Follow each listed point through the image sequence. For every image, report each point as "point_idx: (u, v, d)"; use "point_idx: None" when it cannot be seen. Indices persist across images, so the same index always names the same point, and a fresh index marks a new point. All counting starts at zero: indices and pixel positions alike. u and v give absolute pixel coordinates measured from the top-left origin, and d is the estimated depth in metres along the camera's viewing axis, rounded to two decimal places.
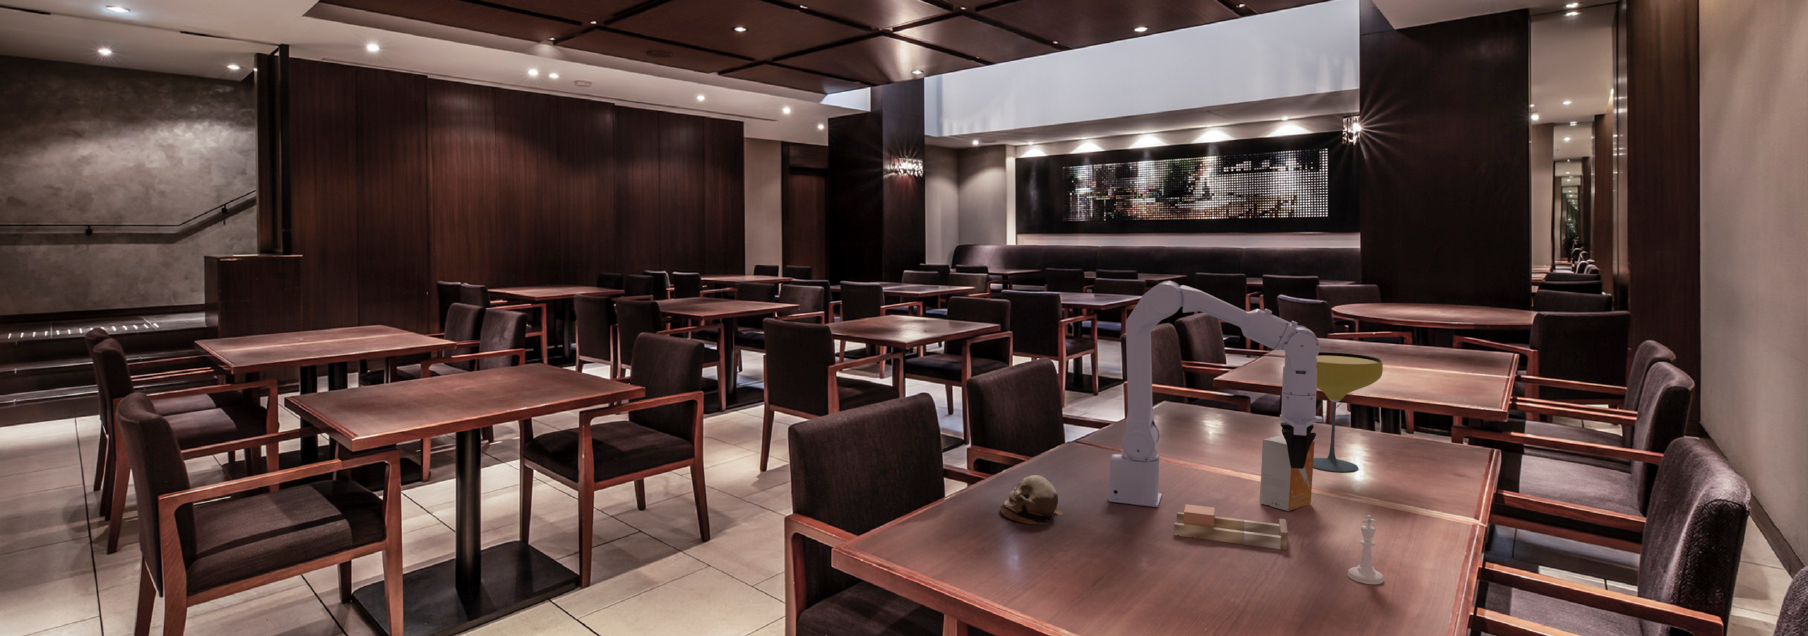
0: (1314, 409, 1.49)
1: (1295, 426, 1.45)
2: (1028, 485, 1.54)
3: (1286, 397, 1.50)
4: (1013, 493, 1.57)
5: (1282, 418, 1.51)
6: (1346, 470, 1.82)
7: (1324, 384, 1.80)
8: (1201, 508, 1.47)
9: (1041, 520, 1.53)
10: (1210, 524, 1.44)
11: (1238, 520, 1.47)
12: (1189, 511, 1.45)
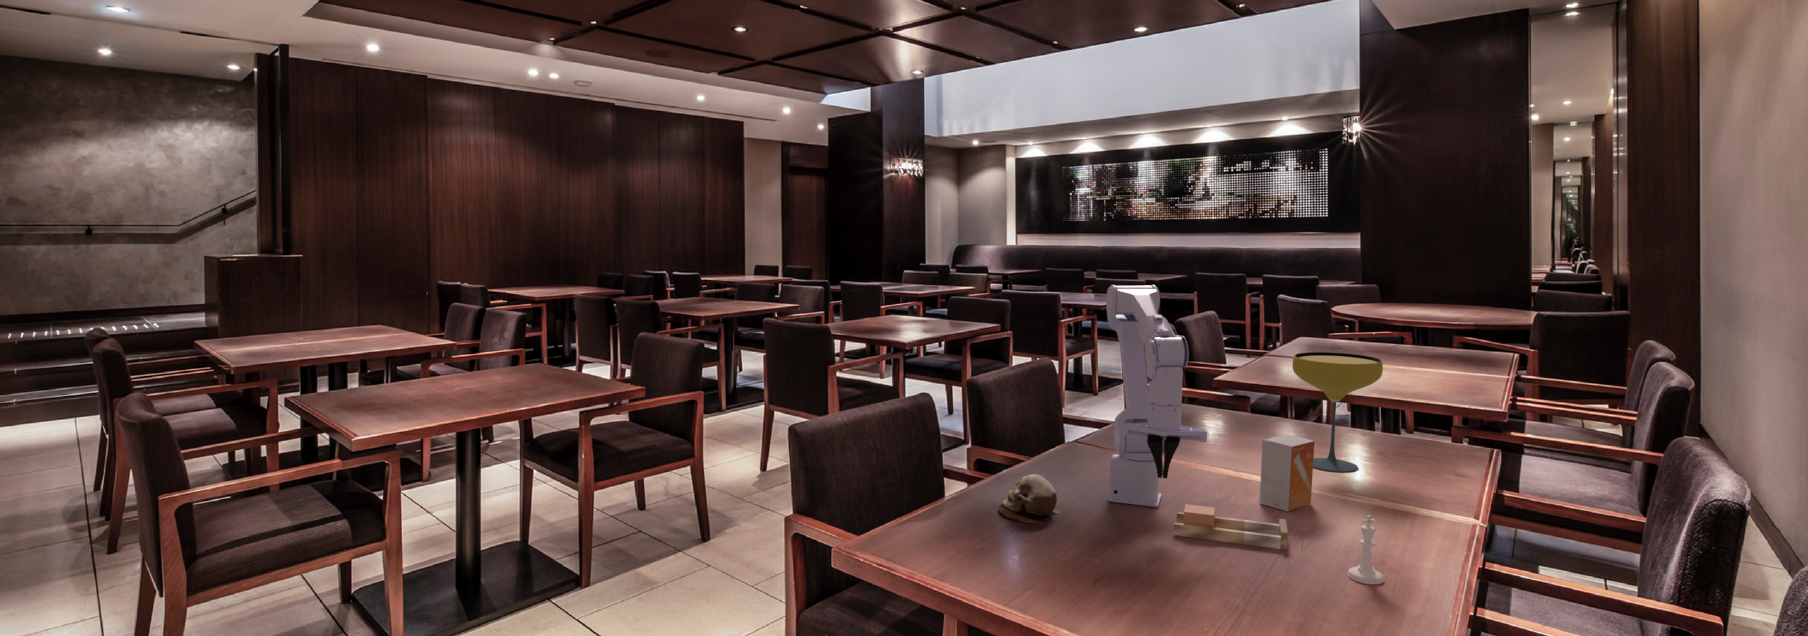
0: (1156, 420, 1.45)
1: None
2: (1026, 484, 1.54)
3: None
4: (1012, 492, 1.58)
5: None
6: (1346, 470, 1.82)
7: (1324, 384, 1.80)
8: (1201, 508, 1.47)
9: (1040, 519, 1.53)
10: (1210, 524, 1.44)
11: (1238, 520, 1.47)
12: (1189, 511, 1.45)
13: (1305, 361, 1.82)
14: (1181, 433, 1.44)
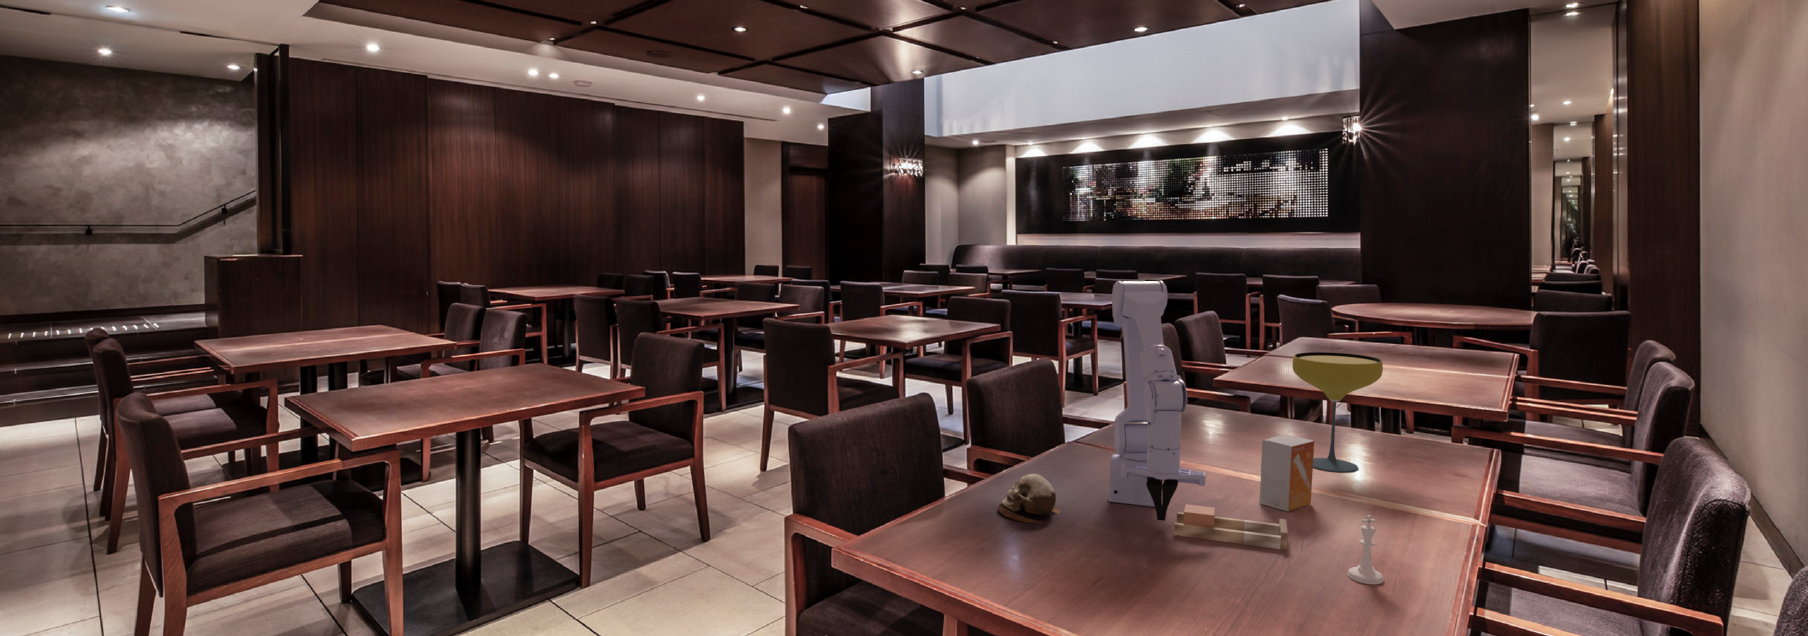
0: (1155, 463, 1.46)
1: (1122, 466, 1.52)
2: (1026, 484, 1.55)
3: None
4: (1011, 492, 1.58)
5: None
6: (1346, 470, 1.82)
7: (1324, 384, 1.80)
8: (1201, 508, 1.47)
9: (1039, 518, 1.53)
10: (1210, 524, 1.44)
11: (1238, 520, 1.47)
12: (1189, 511, 1.45)
13: (1305, 361, 1.82)
14: (1180, 477, 1.45)
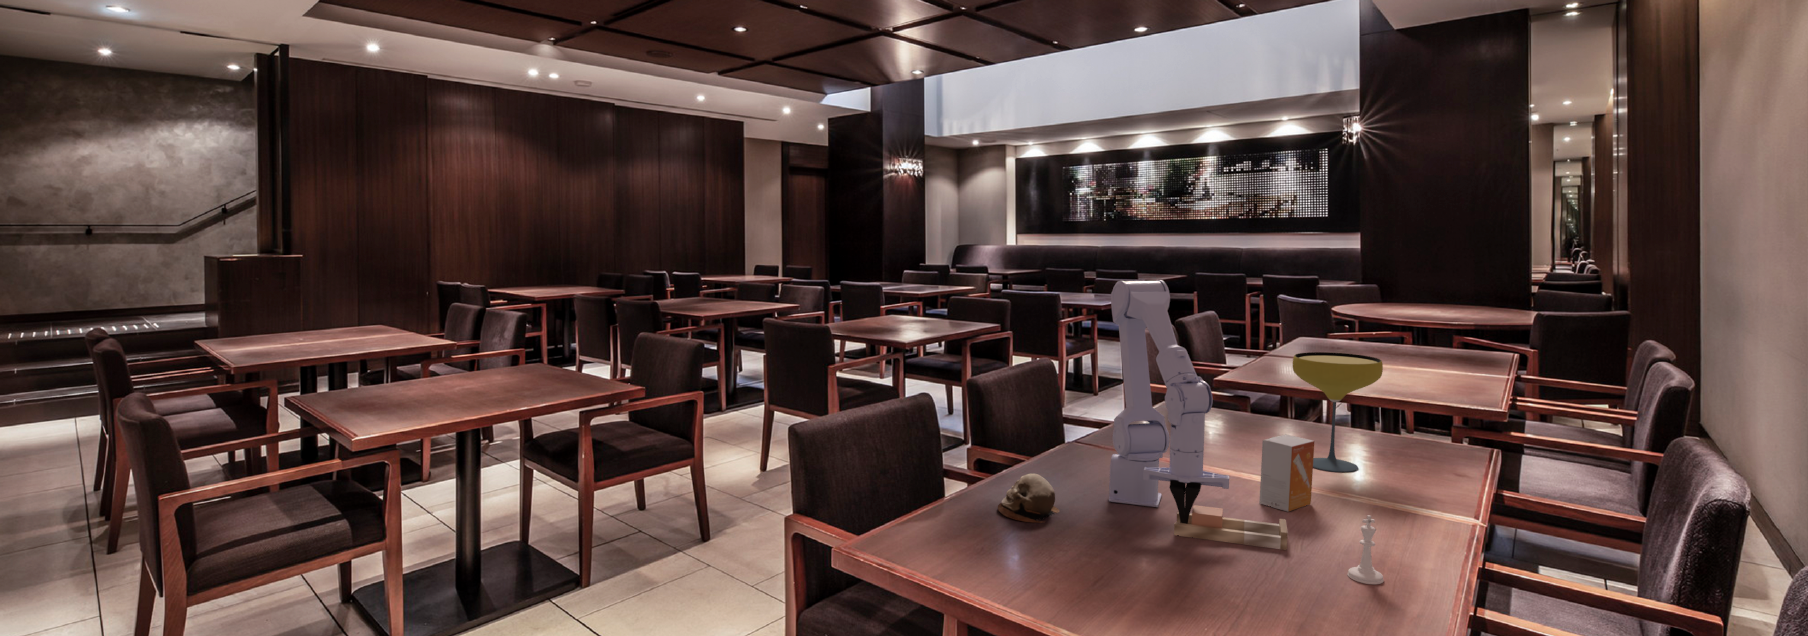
0: (1178, 466, 1.45)
1: None
2: (1025, 484, 1.55)
3: None
4: (1010, 491, 1.58)
5: None
6: (1346, 470, 1.82)
7: (1324, 384, 1.80)
8: (1209, 509, 1.46)
9: (1038, 518, 1.54)
10: (1219, 525, 1.43)
11: (1238, 520, 1.47)
12: (1197, 512, 1.45)
13: (1305, 361, 1.82)
14: (1203, 480, 1.44)
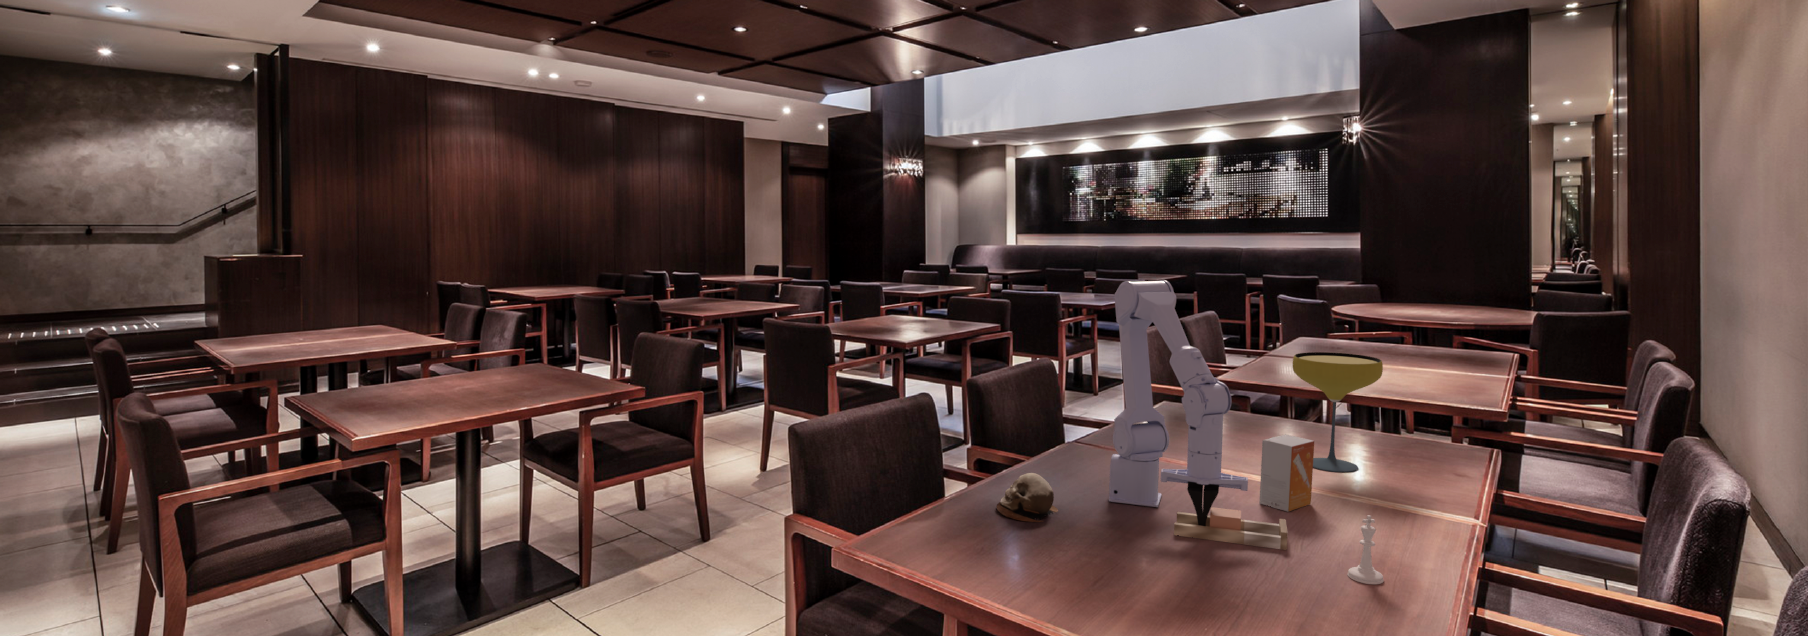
0: (1196, 468, 1.43)
1: None
2: (1024, 483, 1.55)
3: None
4: (1009, 491, 1.58)
5: None
6: (1346, 470, 1.82)
7: (1324, 384, 1.80)
8: (1227, 511, 1.45)
9: (1037, 517, 1.54)
10: (1237, 527, 1.42)
11: None
12: (1215, 515, 1.44)
13: (1305, 361, 1.82)
14: (1222, 481, 1.42)
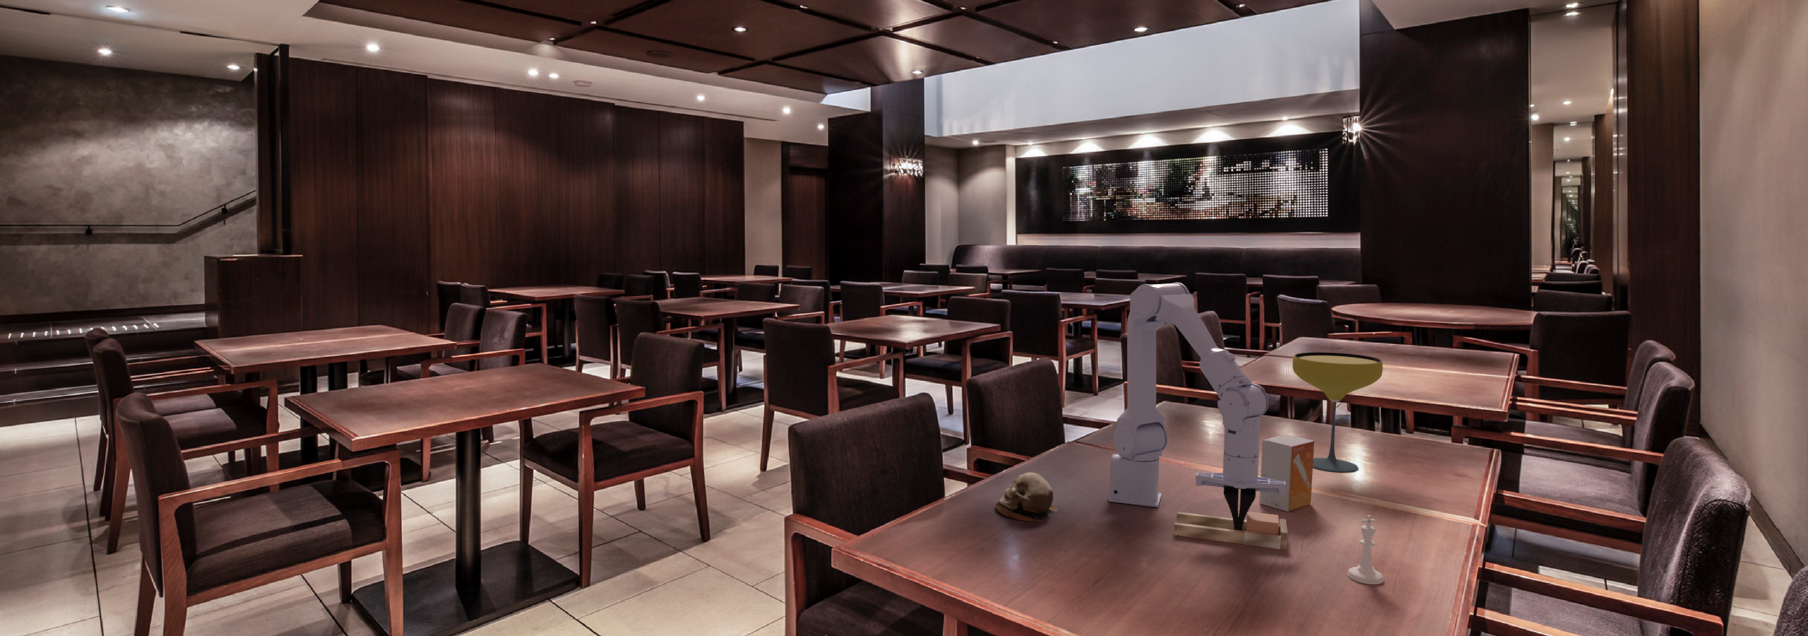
0: (1233, 472, 1.41)
1: (1196, 474, 1.47)
2: (1023, 483, 1.56)
3: None
4: (1008, 490, 1.59)
5: None
6: (1346, 470, 1.82)
7: (1324, 384, 1.80)
8: (1264, 516, 1.43)
9: (1037, 517, 1.54)
10: (1275, 532, 1.40)
11: None
12: (1252, 519, 1.41)
13: (1305, 361, 1.82)
14: (1259, 485, 1.40)
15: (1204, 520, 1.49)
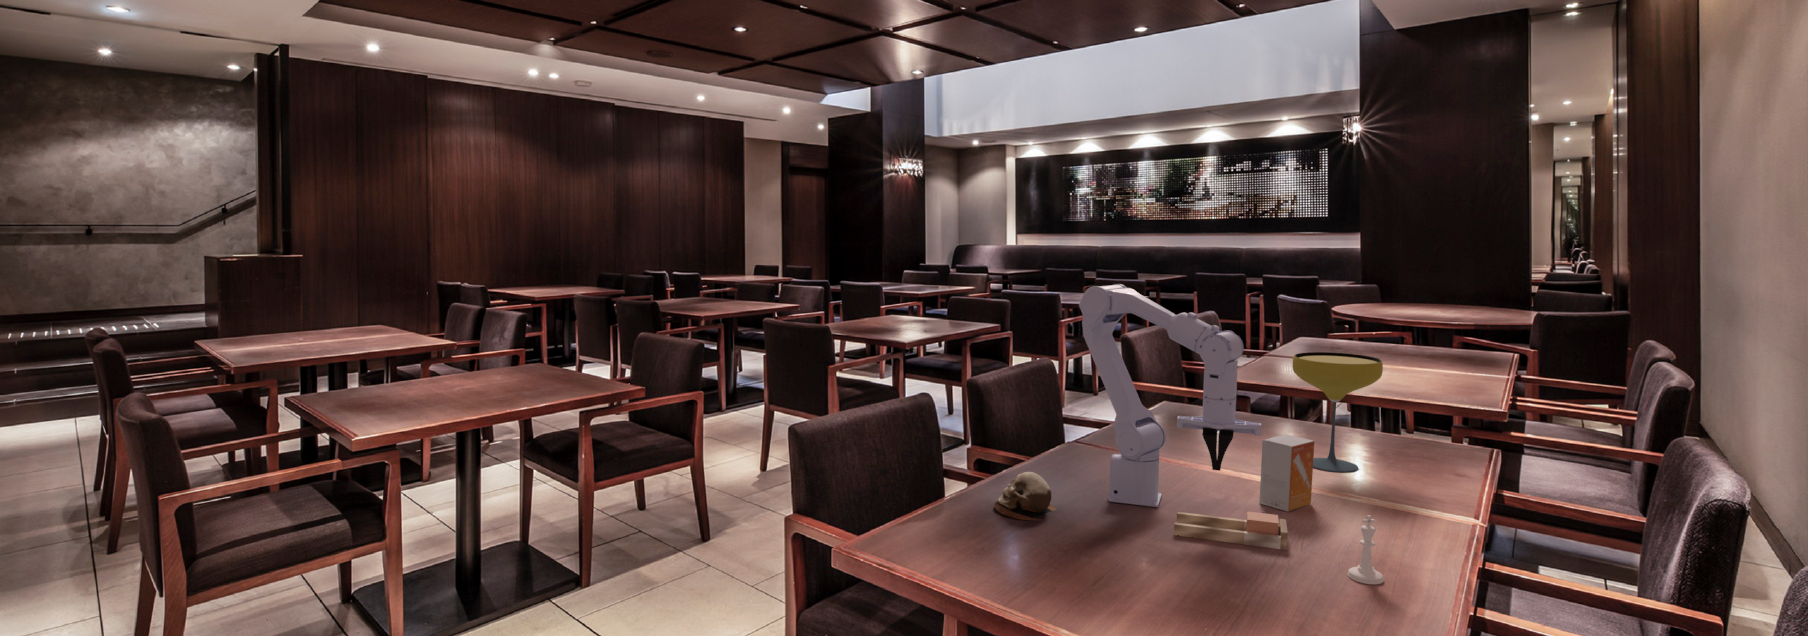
0: (1211, 414, 1.49)
1: None
2: (1022, 482, 1.56)
3: None
4: (1007, 490, 1.59)
5: None
6: (1346, 470, 1.82)
7: (1324, 384, 1.80)
8: (1264, 516, 1.43)
9: (1035, 516, 1.55)
10: (1275, 532, 1.40)
11: (1238, 520, 1.47)
12: (1252, 519, 1.41)
13: (1305, 361, 1.82)
14: (1236, 426, 1.48)
15: (1204, 520, 1.49)
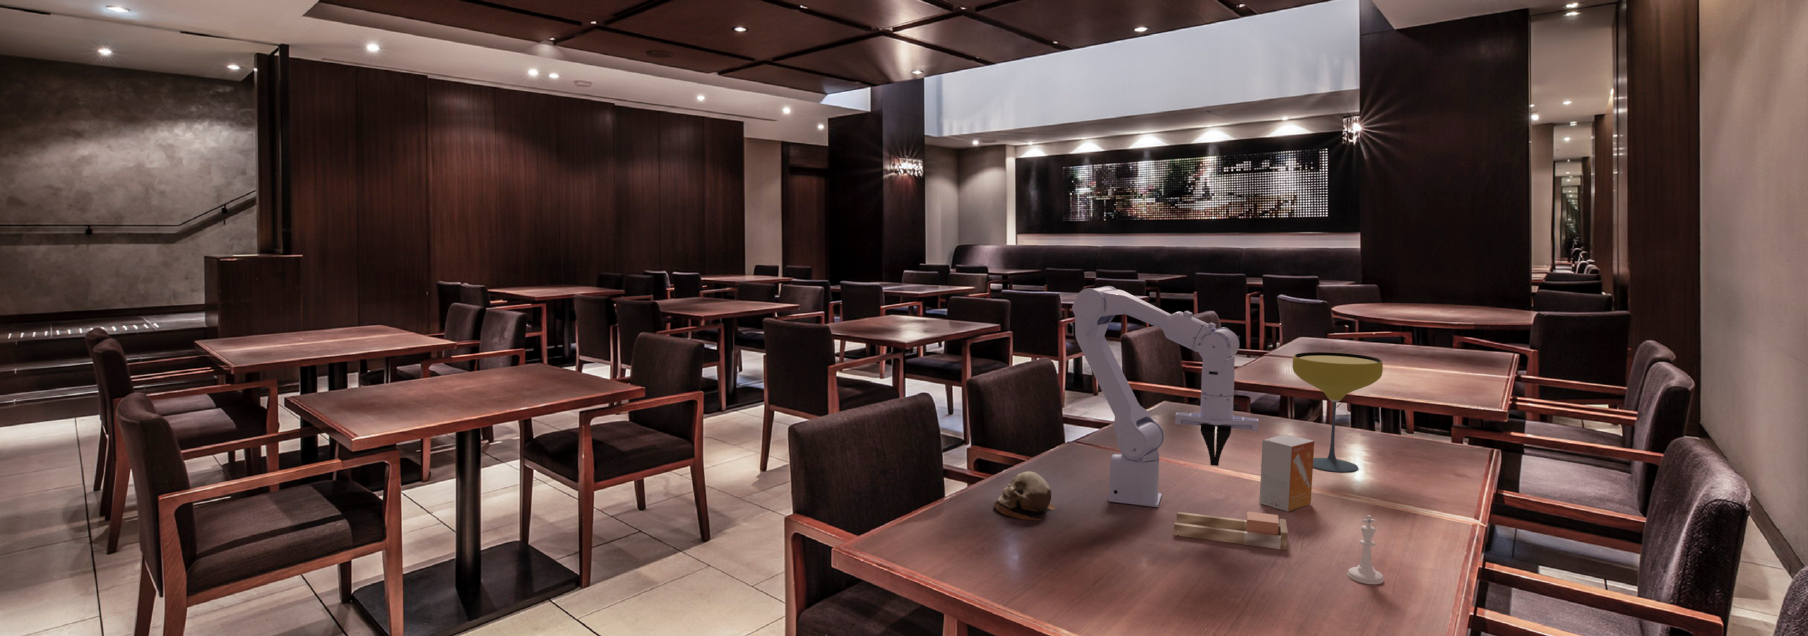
0: (1209, 410, 1.51)
1: None
2: (1022, 481, 1.56)
3: None
4: (1007, 489, 1.59)
5: None
6: (1346, 470, 1.82)
7: (1324, 384, 1.80)
8: (1264, 516, 1.43)
9: (1035, 515, 1.55)
10: (1275, 532, 1.40)
11: (1238, 520, 1.47)
12: (1252, 519, 1.41)
13: (1305, 361, 1.82)
14: (1234, 422, 1.50)
15: (1204, 520, 1.49)
